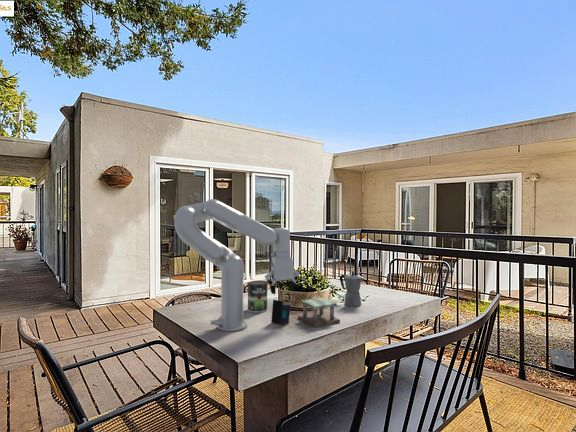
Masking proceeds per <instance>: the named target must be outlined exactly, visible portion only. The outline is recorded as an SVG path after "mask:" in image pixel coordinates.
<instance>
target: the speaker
mask: <svg viewBox="0 0 576 432" xmlns="http://www.w3.org/2000/svg"><path fill="white" fill-rule="evenodd" d="M290 312H291V303H285V302H284V301H283V300H277V299H272V309H271V320H270V321H271V324H274V325H279V326H282V324H288V323H290Z"/></svg>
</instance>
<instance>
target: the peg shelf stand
mask: <svg viewBox="0 0 576 432" xmlns="http://www.w3.org/2000/svg"><path fill="white" fill-rule="evenodd" d="M300 304H301V305H302V307H303V308H302V310H303V311H302V314H301V315H300V314H299V315H297V320H299V321H301V322H303V323H304V324H306V325H308V326H310V327H312V328H319V327H325V326H330V325H336V324H340V323H341V319H339V318H337V317H335V307H337V306H338V304H337V303H336V302H333V301H331V300H329V299H326V298H324V297H320V298H319V297H317V298H312V299H311V298H309V299H304V300H303V299H302V300H300ZM308 308H311V309H312V310H313V312H312V313H308ZM325 308H326V309H327V308H329V313H327V312H324V309H325ZM318 310H319V312H318Z"/></svg>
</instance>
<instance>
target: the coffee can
mask: <svg viewBox="0 0 576 432" xmlns="http://www.w3.org/2000/svg"><path fill="white" fill-rule="evenodd" d="M268 284H269V283H268V282H267V281H263V280H253V281H249V282H247V311H248V312H249V313H257V314H259V313H265V312H267V311H268Z"/></svg>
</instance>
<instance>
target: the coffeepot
mask: <svg viewBox="0 0 576 432" xmlns="http://www.w3.org/2000/svg"><path fill="white" fill-rule="evenodd" d="M339 281H340V285H341V289H343V290H346V292H345V297H344V303H343V304H344V305H345V306H346V307H351V306H353V307H357V308H358V307H360V306H362V300H361V295H360V294H361V293H360V289H361V283H362V282H363V281H364V278H362V276H358V275H355V271H351V274H350V275H348V274H340V276H339ZM353 307H352V308H353Z"/></svg>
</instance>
